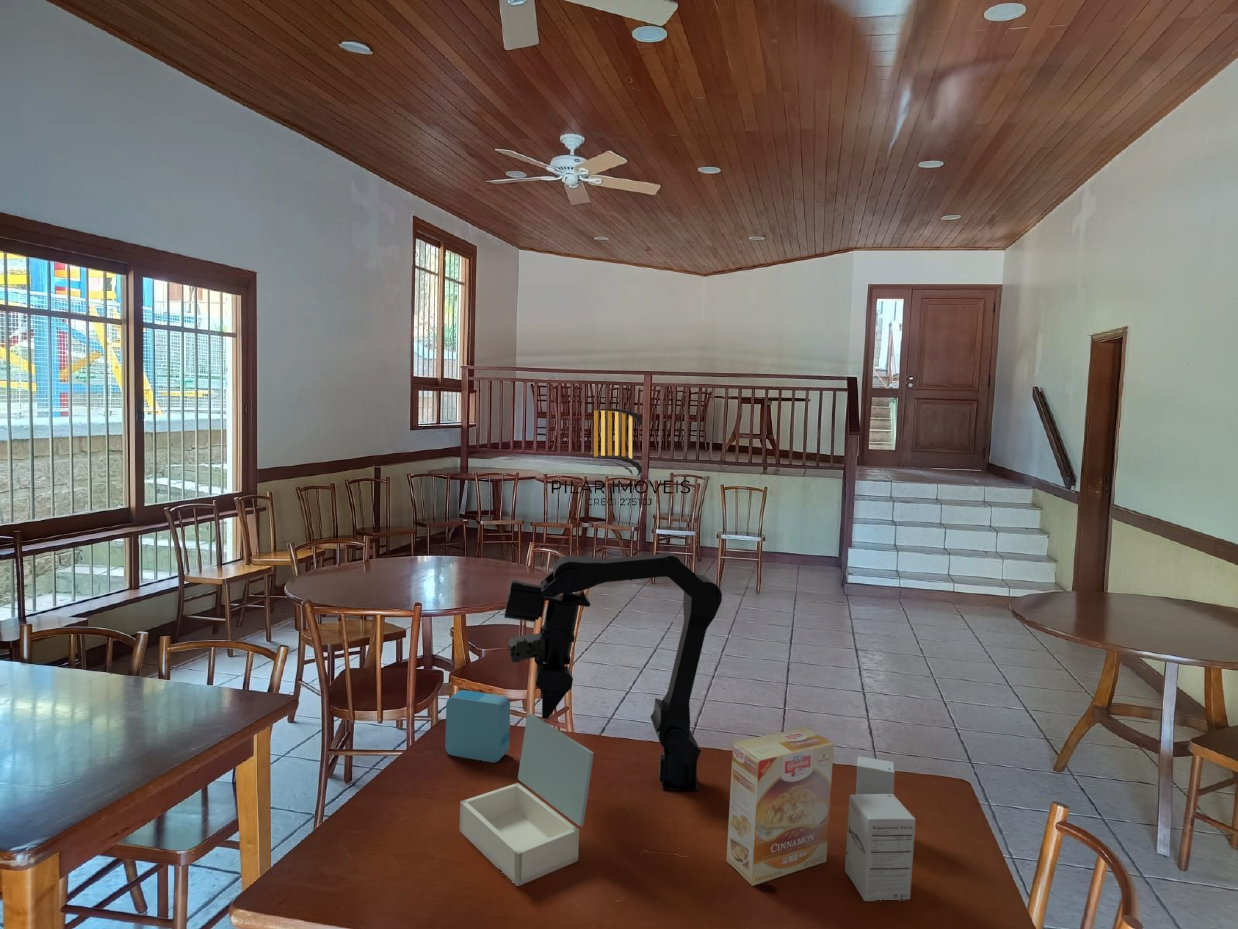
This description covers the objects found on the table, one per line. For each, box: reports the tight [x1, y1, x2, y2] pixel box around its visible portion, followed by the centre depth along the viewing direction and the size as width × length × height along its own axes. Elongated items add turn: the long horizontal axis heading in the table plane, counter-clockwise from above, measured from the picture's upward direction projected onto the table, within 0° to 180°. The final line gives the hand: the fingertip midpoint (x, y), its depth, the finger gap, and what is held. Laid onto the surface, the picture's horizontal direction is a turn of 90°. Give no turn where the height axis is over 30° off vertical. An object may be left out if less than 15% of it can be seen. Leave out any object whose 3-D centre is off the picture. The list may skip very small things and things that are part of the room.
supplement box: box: [844, 793, 917, 902], centre depth 113 cm, size 7×7×13 cm
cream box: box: [459, 782, 580, 887], centre depth 121 cm, size 11×18×5 cm, turn 39°
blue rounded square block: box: [445, 689, 511, 764], centre depth 151 cm, size 12×4×12 cm, turn 74°
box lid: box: [517, 712, 595, 827], centre depth 124 cm, size 11×18×1 cm
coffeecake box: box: [726, 726, 835, 887], centre depth 118 cm, size 15×7×20 cm, turn 117°
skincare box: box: [855, 755, 896, 795], centre depth 128 cm, size 6×4×12 cm
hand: (544, 708), depth 139 cm, fingers open, 9 cm apart
